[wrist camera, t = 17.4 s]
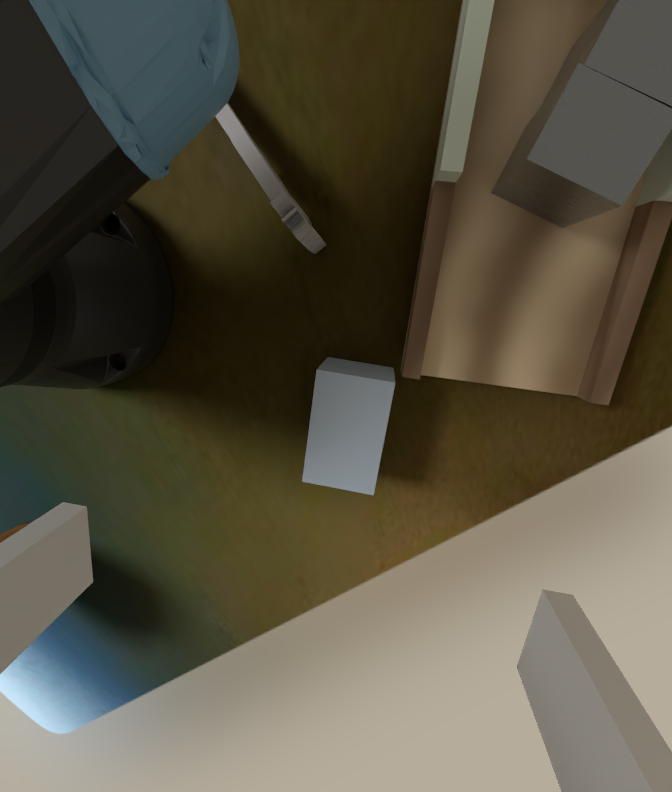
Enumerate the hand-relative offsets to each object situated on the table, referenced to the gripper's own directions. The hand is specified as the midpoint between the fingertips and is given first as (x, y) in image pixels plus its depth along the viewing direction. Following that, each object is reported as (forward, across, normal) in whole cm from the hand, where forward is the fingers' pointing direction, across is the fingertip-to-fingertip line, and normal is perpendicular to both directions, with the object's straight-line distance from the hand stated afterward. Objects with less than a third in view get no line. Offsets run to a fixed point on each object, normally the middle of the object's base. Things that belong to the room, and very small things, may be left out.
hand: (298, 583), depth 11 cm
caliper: (+19, -10, +18) cm, 28 cm away
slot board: (+19, +10, +15) cm, 26 cm away
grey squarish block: (+18, +10, +16) cm, 26 cm away
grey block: (+16, 0, -5) cm, 17 cm away
